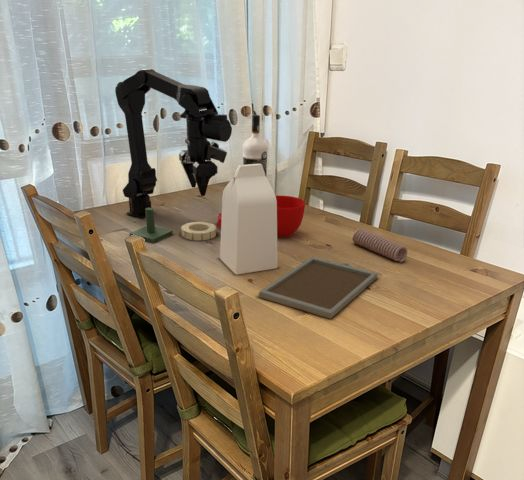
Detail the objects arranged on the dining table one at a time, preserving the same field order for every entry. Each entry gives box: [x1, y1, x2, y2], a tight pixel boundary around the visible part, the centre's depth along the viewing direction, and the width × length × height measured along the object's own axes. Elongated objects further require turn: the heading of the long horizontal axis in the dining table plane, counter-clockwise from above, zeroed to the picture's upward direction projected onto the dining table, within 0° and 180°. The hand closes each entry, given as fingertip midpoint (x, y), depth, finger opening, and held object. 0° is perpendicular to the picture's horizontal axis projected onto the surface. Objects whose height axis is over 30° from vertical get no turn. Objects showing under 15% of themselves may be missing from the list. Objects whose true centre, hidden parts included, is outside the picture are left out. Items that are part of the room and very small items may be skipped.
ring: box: [180, 221, 217, 241], centre depth 168 cm, size 10×10×2 cm
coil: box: [352, 228, 408, 263], centre depth 159 cm, size 5×5×18 cm
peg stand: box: [129, 207, 173, 244], centre depth 164 cm, size 9×9×8 cm
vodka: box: [242, 114, 269, 177], centre depth 185 cm, size 9×9×30 cm
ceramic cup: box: [275, 195, 306, 238], centre depth 170 cm, size 13×17×10 cm
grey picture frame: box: [258, 256, 378, 320], centre depth 139 cm, size 19×2×30 cm
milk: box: [219, 164, 279, 275], centre depth 144 cm, size 12×12×26 cm
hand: (198, 191), depth 165 cm, fingers open, 9 cm apart
